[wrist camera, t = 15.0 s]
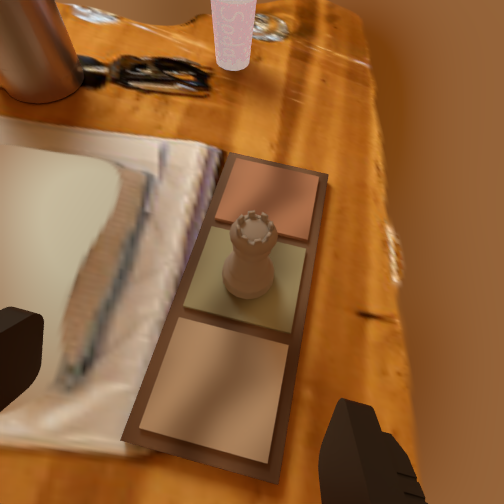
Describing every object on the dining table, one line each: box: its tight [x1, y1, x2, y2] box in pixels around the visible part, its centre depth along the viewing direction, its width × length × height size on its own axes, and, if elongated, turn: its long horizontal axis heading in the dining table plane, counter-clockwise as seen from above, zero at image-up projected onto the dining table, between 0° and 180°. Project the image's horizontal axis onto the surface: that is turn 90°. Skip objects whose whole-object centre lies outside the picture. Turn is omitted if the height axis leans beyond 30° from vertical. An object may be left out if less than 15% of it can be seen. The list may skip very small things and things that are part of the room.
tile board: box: [121, 152, 328, 485], centre depth 28 cm, size 11×28×1 cm, turn 167°
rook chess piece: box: [222, 210, 278, 299], centre depth 24 cm, size 4×4×8 cm
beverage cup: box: [211, 0, 256, 71], centre depth 39 cm, size 6×6×14 cm
